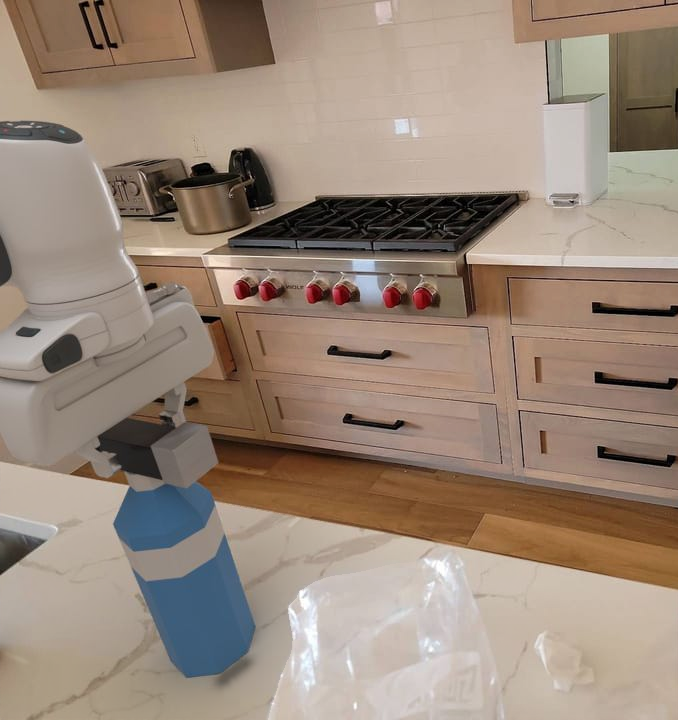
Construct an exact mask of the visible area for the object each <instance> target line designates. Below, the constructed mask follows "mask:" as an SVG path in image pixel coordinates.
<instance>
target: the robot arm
mask: <svg viewBox="0 0 678 720" xmlns="http://www.w3.org/2000/svg"><path fill="white" fill-rule="evenodd" d="M2 287H14V288H15V289H17V290H19V291H20V293H21V295H22V297H23V299H24V302H25V304H26V306H27V307H26V308H25V309H24V310H23V311H22V312H21V313H20V314H19V315H18V316H17V317H16V318H15V319H14V320H13V321H12V322H11V323H9V325H8V326H6V327H5V328H4V329H3V330H1V332H0V435H1V438H2V440H3V442H4V444H5V446H6V448H7V450H8V451H9V453H10V455H11V456H12V457H13V458H15V459H17V460H18V461H22V462H23V463H24V462H25V463H28V464H32V465H38V466H43V467H49V466H52V465H55V464H56V463H58V462H59V461H61V460H62V459H63V458H65V457H67V456H69V455H70V454H72V453H75V454H76V455H78V456H80V457H82V458H83V459H86V460H87V461H90V465H91V467H92V469H93V472H94V473H95V474H96V475H97V476H98V477H100V478H105V479H109V478H111V477H112V476H113V475H115V474H116V473H117V472H119V471H121V470H120V469H121V468H122V466H121V464H120V463H119V458H118V456H117V454H115V453H108V452H106V451H102V452H101V453H100V452H99V451H97V450H96V449H95V448H97V447H98V446H100V442H99V439H98V437H97V436H98V435H100V434H102V433H103V432H105V431H106V430H108V429H109V428H111V427H113V426H114V425H116V424H117V423H119V422H121V421H122V420H124V419H125V418H130V416H132V415H133V414H135V413H137V412H139V411H140V410H141V409H143V408H144V407H146V406H148V405H149V404H150V403H152V402H154V401H156V400H157V399H158V398H161V397H162V396H163V395H164V406H163V407H164V408H163V411H161V412H160V413H159V414H158V418H159V420H160V421H161V424H162V425H167V426H172V427H178V426H180V425H181V424H182V423H184V422H187V419H186V416H185V414H184V410H183V409H184V407H185V401H186V397H187V391H188V390H187V386H186V381H187V380H189V379H191V378H192V377H193V376H196V375H197V374H198V373H201V371H203V370H204V369H207V368H208V367H209V366H211V365H212V363H213V360H214V355H215V349H214V346H213V343H212V340H211V338H210V335H209V333H208V331H207V328H206V326H205V323H204V322H203V320H202V318H201V316H200V313H199V312H198V310H197V308H196V306H195V301H194V299H193V295H192V293H191V291H190V290H189V288H187V287H186V286H184V285H182V284H179V283H175V282H173V281H169V282H167V283H164V284H162V285H160V286H159V287H158V288H155V289H152V290H149V291H145V288H144V283H143V281H142V278H141V275H140V272H139V269H138V266H137V265H136V264H135V262H134V261H133V259H132V258H131V257H130V255H129V253H128V251H127V249H126V246H125V241H124V225H123V221H122V217H121V215H120V211H119V209H118V206H117V202H116V200H115V197H114V195H113V192H112V190H111V187H110V185H109V182H108V179H107V178H106V174H105V172H104V170H103V168H102V166H101V164H100V162H99V160H98V158H97V156H96V153H95V152H94V151H93V149H92V147H91V146H90V145H89V143H88V142H87V141H86V139H85V138H84V136H82V135H81V134H80V133H79V132H77V131H76V130H74V129H73V128H70V127H68V126H65V125H63V124H60V123H55V122H49V121H40V120H17V121H16V120H14V121H12V120H11V121H10V120H4V121H0V288H2Z"/></svg>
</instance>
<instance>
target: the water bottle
mask: <svg viewBox="0 0 678 720" xmlns="http://www.w3.org/2000/svg"><path fill="white" fill-rule="evenodd" d="M123 473H124V476H125V478H126V480H127V483H128V489H127V491H126V493H125V495H124V498H123V501H122V502H121V504H120V506H119V509H118V512H117V513H116V516H115V518H114V520H113V523H112V525H113V528H114V530H115V533H116V536H117V537H118V540H119V541H120V545H121V547H122V550H123V551H124V554H125V556H126V560H127V561H128V563H129V565H130V568H131V571H132V573H133V576H134V578H135V581H136V582H137V585H138V587H139V590H140V592H141V595H142V596H143V600H144V601H145V604H146V606H147V609H148V611H149V613H150V616H151V618H152V621H153V622H154V625H155V628H156V630H157V632H158V635H159V637H160V639H161V642H162V645H163V646H164V649H165V651H166V653H167V657H168V658H169V661H170V662H171V663H172V664H173V666H174V667H175V668H177V670H178V671H179V672H180V673H181V674H182V675H183V676H184V678H186V679H187V678H194V677H195V678H196V677H204V676H205V677H206V676H213V675H219V674H221V673H223V671H225V670H226V669H228V668H229V667H230V666H231V665H233V664H234V663H235V662H238V660H239V659H241V658H242V657H244V656H245V655H246V654H248V653H249V651H250V647H251V643H252V640H253V636H254V632H255V630H256V623H255V621H254V618H253V615H252V612H251V609H250V606H249V603H248V599H247V597H246V593H245V590H244V588H243V584H242V581H241V579H240V575H239V572H238V570H237V566H236V563H235V561H234V557H233V554H232V551H231V548H230V545H229V542H228V539H227V535H226V534H225V533H226V532H225V530H224V526H223V524H222V522H221V518H220V515H219V512H218V509H217V506H216V503H215V500H214V497H213V494H212V492H211V490H209V489H207V488H206V487H205V486H203V485H202V484H201V483H199V482H198V481H195V482H194V483H193V484H192V485H190V486H189V487H188V488H182V487H178V486H173V485H169V484H165V483H164V481H163V480H159V479H155V478H151V477H146V476H142V475H138V474H134V473H129V472H125V471H123Z"/></svg>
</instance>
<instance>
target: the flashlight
mask: <svg viewBox="0 0 678 720" xmlns="http://www.w3.org/2000/svg"><path fill="white" fill-rule="evenodd" d="M97 437H98V439H99V442H100V446H98V447H97V448H95V449H96V450H97V451H99V452H100V453H101V452H102V451H106V452H108V453H115V454H117V456H118V458H119V463H120V464H121V466H122V468H121V469H120V470H119V471H121V472H124V471H125V472H129V473H134V474H138V475H142V476H146V477H151V478H155V479H159V480H163V481H164V483H165V484H169V485H173V486H178V487H182V488H188V487H189V486H190V485H192V484H193V483H194V482H195V481H196V482H198V480H199V479H201V478H202V477H203V476H204V475H205V474H207V473H208V472H209V471H210V470H212V469H213V468H214V467H215V466H217V465H218V464H219V459H218V456H217V453H216V450H215V447H214V443H213V440H212V438H211V437H212V436H211V434H210V431H209V428H208V425H203V424H199V423H194V422H189V421H186V422H184V423H182V424H181V425H180V426H178V427H172V426H167V425H162V423H157V422H151V421H145V420H142V419H141V420H140V419H136V418H130V417H127V418H125V419H124V420H122V421H121V422H119V423H117V424H116V425H114V426H113V427H111V428H109V429H108V430H106V431H105V432H103V433H102V434H100V435H98V436H97Z"/></svg>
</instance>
